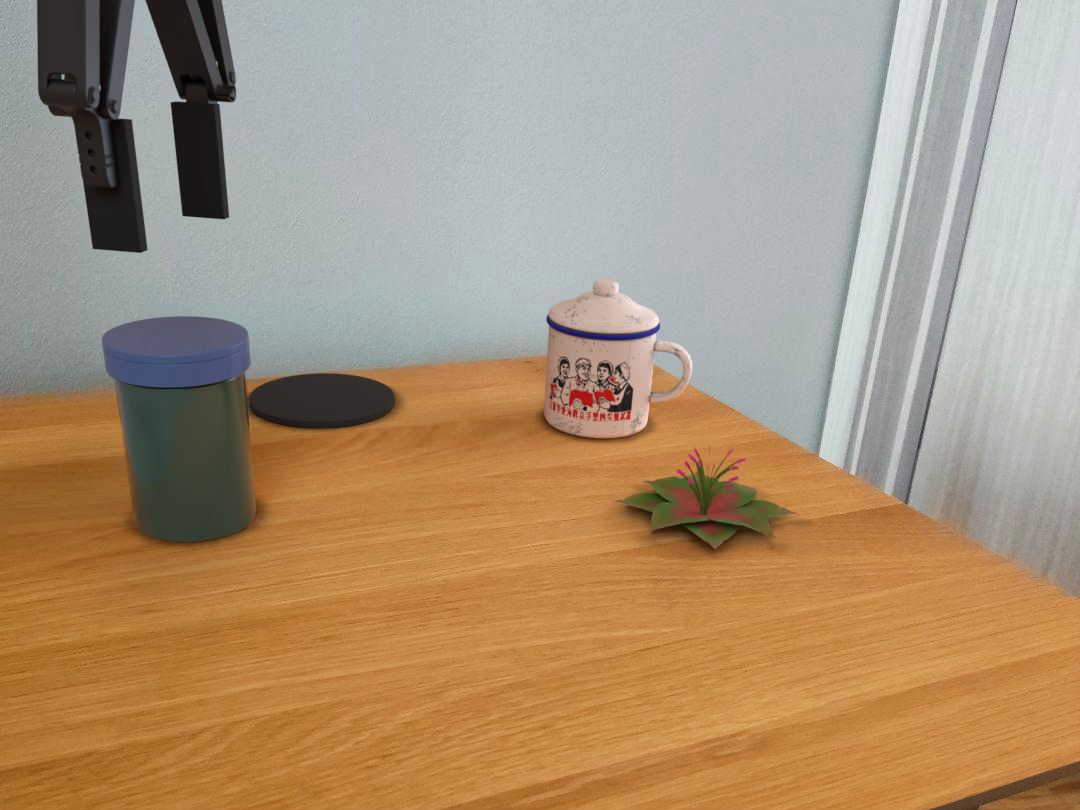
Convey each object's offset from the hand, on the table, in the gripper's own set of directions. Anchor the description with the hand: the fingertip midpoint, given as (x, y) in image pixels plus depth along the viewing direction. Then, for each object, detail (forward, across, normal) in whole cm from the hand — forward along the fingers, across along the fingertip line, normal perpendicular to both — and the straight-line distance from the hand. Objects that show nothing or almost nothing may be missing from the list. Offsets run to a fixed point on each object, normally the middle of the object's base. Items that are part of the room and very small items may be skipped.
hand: (166, 231), depth 61 cm
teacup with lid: (+18, -25, +25) cm, 40 cm away
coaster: (+18, -23, 0) cm, 29 cm away
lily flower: (+19, -9, +33) cm, 39 cm away
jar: (+18, 0, 0) cm, 18 cm away
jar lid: (+7, 0, 0) cm, 7 cm away
